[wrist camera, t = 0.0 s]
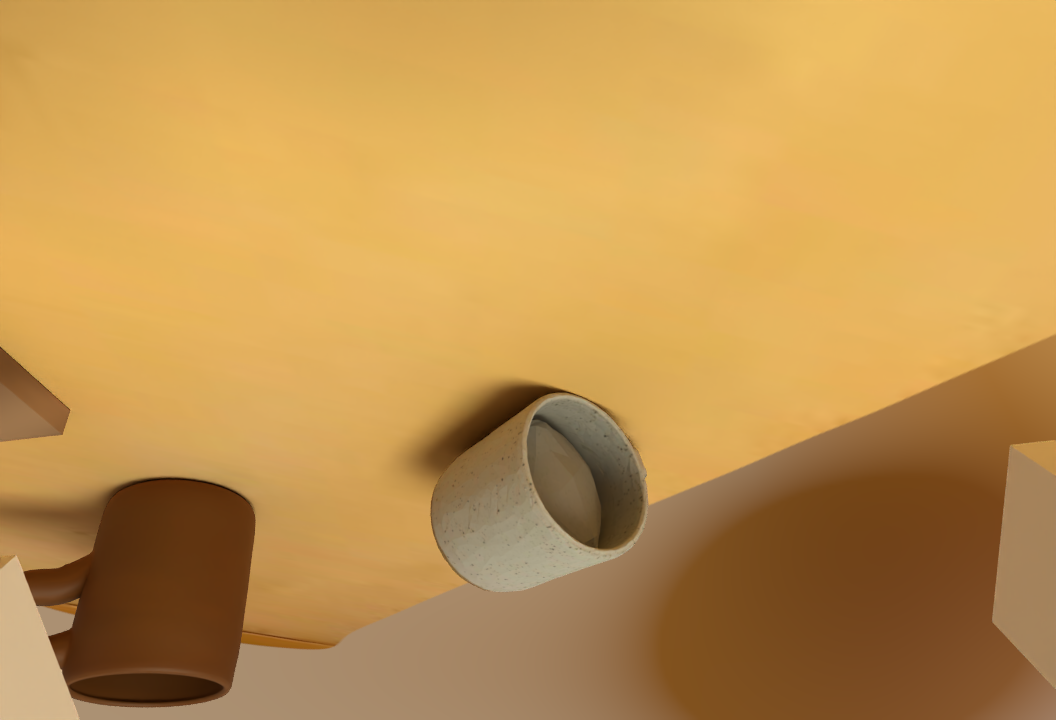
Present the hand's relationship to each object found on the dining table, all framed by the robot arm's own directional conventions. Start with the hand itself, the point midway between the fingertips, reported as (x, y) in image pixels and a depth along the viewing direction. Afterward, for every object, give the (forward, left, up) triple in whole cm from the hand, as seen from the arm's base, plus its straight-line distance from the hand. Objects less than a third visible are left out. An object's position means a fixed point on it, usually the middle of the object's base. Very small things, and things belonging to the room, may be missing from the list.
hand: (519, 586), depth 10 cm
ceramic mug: (+23, +1, -16) cm, 28 cm away
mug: (+25, -21, -16) cm, 36 cm away
